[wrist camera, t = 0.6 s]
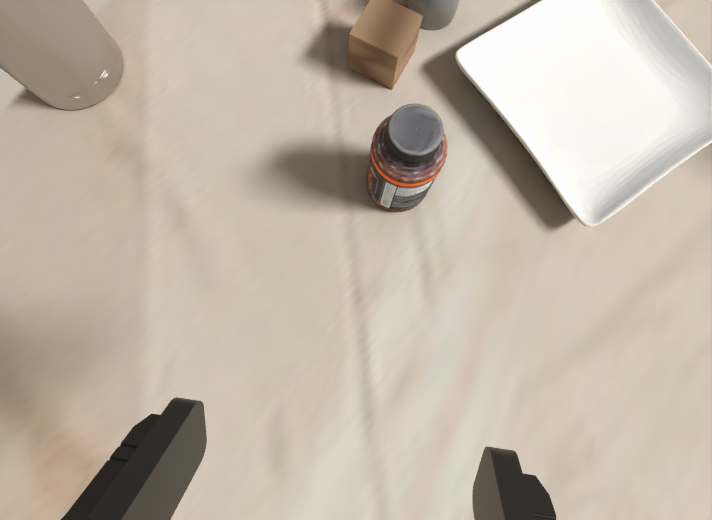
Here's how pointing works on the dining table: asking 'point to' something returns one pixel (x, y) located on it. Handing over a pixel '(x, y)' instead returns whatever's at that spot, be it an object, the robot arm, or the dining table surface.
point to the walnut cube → (383, 41)
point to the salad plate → (596, 96)
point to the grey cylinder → (434, 12)
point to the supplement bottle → (406, 157)
